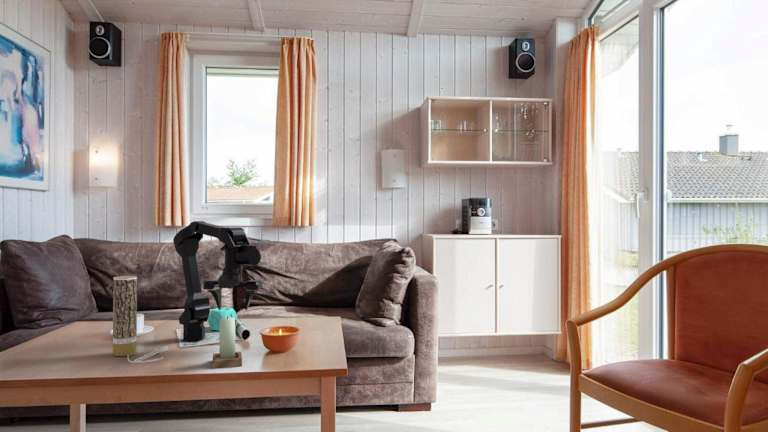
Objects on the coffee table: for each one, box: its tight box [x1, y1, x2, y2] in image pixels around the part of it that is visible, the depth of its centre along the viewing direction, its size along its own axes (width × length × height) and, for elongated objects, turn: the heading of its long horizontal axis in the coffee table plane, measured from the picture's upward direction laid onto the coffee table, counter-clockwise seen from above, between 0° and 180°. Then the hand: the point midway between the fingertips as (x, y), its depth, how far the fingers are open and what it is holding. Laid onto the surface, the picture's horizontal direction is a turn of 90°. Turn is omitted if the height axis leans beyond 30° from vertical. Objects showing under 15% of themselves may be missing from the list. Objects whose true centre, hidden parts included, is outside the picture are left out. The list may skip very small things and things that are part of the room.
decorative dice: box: [207, 306, 238, 332], centre depth 198 cm, size 8×8×8 cm
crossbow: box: [126, 345, 169, 364], centre depth 159 cm, size 16×13×2 cm
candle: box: [218, 316, 236, 360], centre depth 152 cm, size 5×5×13 cm
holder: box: [211, 351, 243, 369], centre depth 152 cm, size 8×8×2 cm
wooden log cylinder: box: [112, 275, 138, 357], centre depth 161 cm, size 7×7×25 cm
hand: (233, 309), depth 169 cm, fingers open, 9 cm apart
